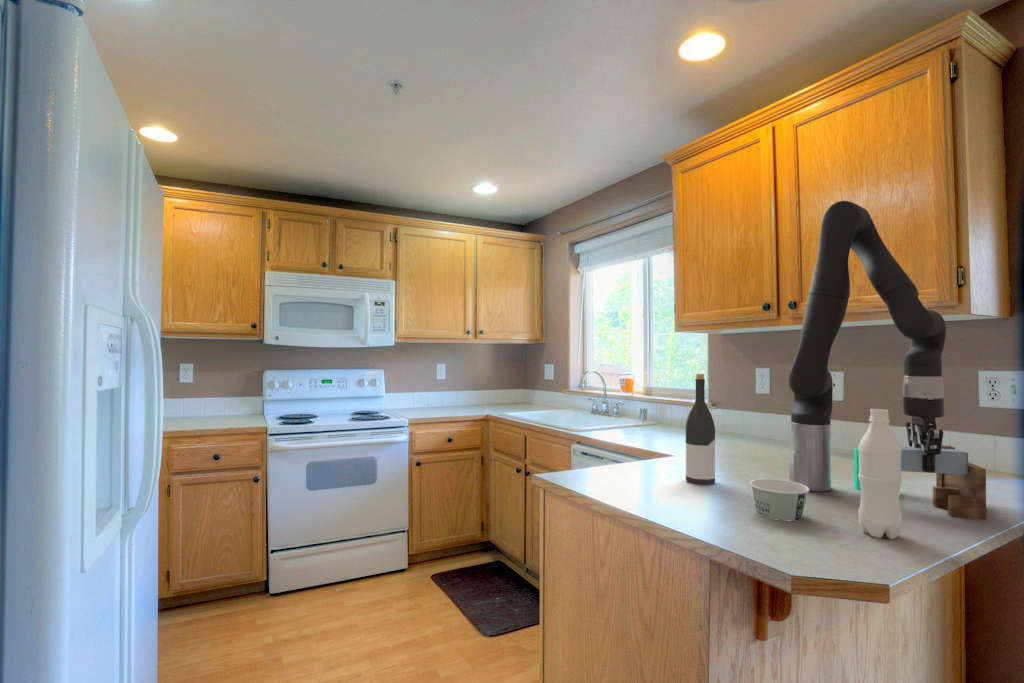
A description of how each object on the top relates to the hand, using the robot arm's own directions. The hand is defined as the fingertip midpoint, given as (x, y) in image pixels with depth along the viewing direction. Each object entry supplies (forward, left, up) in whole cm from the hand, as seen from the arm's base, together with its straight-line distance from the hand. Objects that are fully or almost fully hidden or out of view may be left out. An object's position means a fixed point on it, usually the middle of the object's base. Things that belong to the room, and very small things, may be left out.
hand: (924, 469), depth 123 cm
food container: (-33, -14, -10) cm, 37 cm away
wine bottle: (-49, +11, -10) cm, 51 cm away
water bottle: (-16, -22, -10) cm, 29 cm away
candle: (-7, +17, -10) cm, 20 cm away
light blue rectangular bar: (0, 0, 0) cm, 0 cm away
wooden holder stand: (+6, +4, -9) cm, 12 cm away
